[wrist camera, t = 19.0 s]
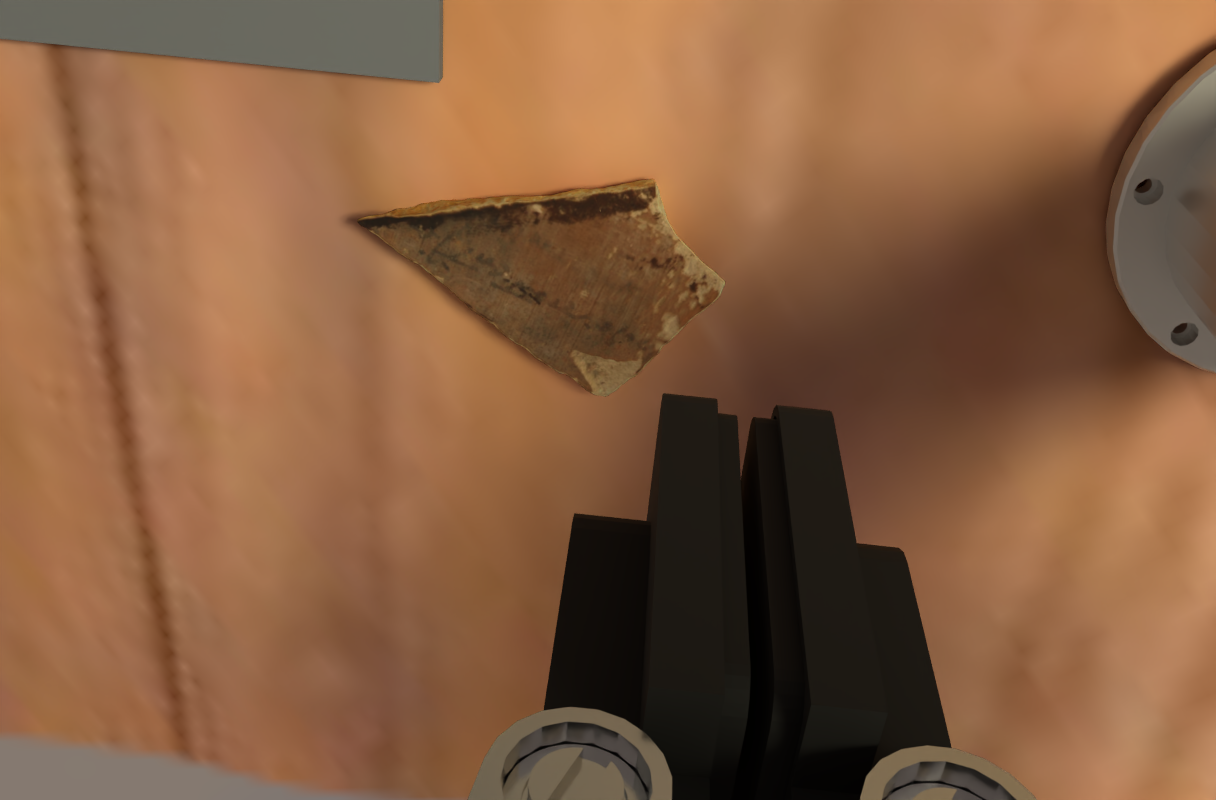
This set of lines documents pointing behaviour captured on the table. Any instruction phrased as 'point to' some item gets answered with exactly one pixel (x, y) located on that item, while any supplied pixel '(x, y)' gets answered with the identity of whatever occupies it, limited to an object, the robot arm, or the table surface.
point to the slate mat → (248, 31)
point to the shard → (564, 273)
